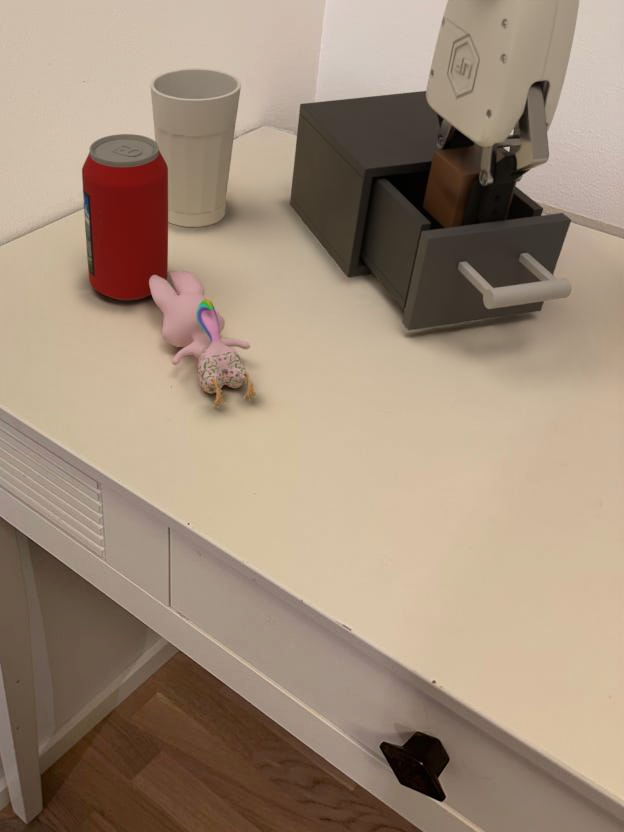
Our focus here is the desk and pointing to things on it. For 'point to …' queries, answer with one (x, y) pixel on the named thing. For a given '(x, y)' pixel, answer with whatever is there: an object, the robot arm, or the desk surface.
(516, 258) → the drawer
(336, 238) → the cabinet
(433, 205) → the block
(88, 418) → the desk surface
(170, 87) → the cup
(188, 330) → the rabbit figure
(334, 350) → the desk surface
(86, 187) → the beverage can
